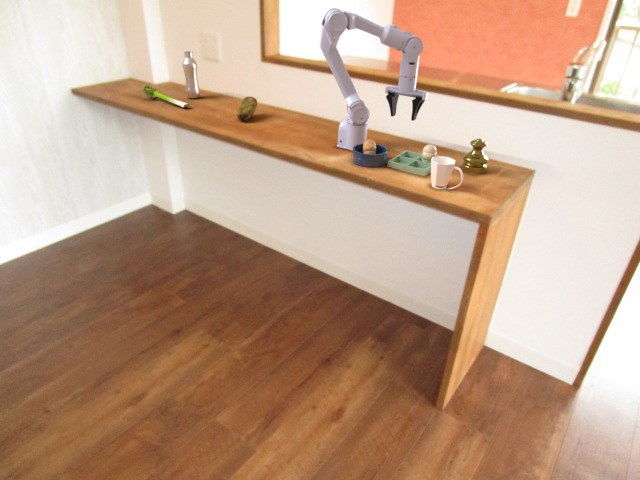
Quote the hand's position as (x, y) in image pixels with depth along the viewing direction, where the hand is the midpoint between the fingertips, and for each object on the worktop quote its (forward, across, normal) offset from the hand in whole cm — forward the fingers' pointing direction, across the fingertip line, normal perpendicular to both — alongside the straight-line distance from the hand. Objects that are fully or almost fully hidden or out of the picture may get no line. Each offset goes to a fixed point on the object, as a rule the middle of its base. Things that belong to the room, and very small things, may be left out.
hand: (403, 117), depth 155 cm
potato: (+11, +65, +8) cm, 66 cm away
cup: (+11, -26, +24) cm, 37 cm away
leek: (+11, +109, +13) cm, 110 cm away
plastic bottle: (+11, +107, -1) cm, 108 cm away
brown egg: (+9, +1, +19) cm, 22 cm away
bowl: (+10, +1, +20) cm, 22 cm away
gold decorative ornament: (+11, -28, +5) cm, 30 cm away
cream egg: (+10, -15, +10) cm, 21 cm away
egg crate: (+10, -12, +14) cm, 21 cm away
